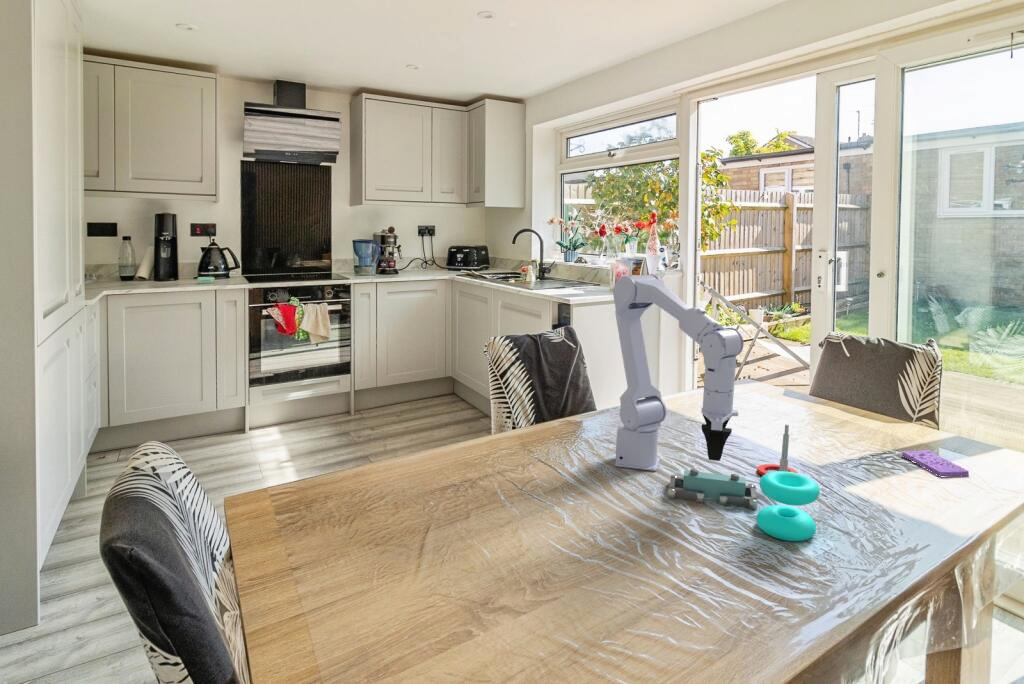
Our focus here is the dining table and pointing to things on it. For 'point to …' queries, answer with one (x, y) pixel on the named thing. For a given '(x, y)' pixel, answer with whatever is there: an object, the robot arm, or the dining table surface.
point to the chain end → (683, 491)
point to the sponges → (935, 463)
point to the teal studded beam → (714, 483)
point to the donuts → (786, 518)
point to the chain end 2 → (741, 498)
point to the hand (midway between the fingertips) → (714, 453)
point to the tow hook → (783, 460)
